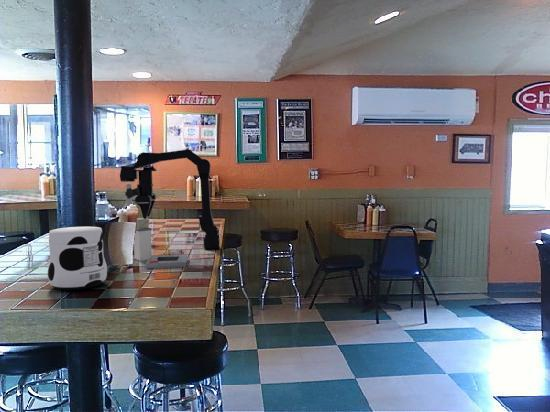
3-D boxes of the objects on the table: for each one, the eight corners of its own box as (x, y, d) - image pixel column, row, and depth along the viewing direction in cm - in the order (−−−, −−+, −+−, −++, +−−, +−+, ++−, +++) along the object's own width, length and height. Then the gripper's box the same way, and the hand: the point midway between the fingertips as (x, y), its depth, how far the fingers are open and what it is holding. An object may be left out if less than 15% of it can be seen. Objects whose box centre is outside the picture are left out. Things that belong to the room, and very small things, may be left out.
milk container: (60, 280, 161) (57, 226, 159) (113, 279, 162) (111, 225, 161) (38, 294, 144) (35, 234, 142) (98, 293, 145) (96, 233, 143)
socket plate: (187, 259, 193) (187, 253, 192) (184, 267, 179) (184, 260, 179) (151, 260, 191) (151, 254, 191) (145, 268, 177) (145, 261, 177)
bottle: (132, 240, 242) (130, 183, 239) (121, 239, 244) (119, 183, 241) (140, 238, 248) (138, 183, 245) (129, 237, 250) (127, 183, 248)
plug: (146, 257, 199) (145, 226, 197) (152, 259, 195) (151, 228, 193) (134, 259, 195) (133, 228, 194) (139, 260, 191) (138, 229, 190)
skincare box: (138, 245, 227) (137, 219, 226) (133, 244, 230) (132, 218, 229) (149, 243, 232) (148, 218, 231) (143, 242, 235) (143, 217, 234)
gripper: (130, 180, 219) (131, 215, 220) (121, 182, 201) (123, 220, 202) (155, 180, 220) (156, 215, 222) (149, 182, 202) (150, 219, 203)
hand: (146, 217), depth 212 cm, fingers open, 9 cm apart
